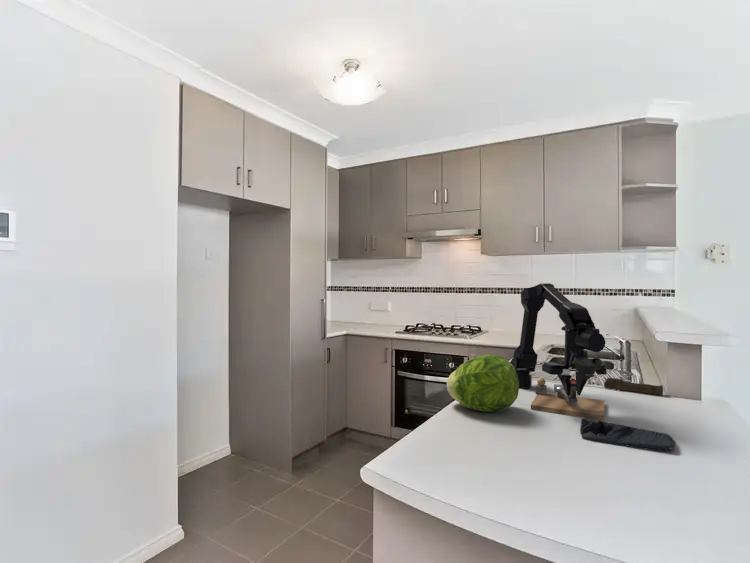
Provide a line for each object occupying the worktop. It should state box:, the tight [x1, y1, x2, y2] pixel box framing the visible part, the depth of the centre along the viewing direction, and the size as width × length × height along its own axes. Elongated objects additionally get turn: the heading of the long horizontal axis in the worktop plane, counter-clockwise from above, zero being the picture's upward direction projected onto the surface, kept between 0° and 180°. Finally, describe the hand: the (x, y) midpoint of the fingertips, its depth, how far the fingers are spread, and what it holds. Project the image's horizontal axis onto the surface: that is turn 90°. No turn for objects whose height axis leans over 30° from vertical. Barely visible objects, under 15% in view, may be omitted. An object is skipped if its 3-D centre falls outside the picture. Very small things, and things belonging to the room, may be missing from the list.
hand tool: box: [603, 377, 664, 397], centre depth 159 cm, size 19×4×5 cm, turn 55°
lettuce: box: [446, 353, 520, 413], centre depth 137 cm, size 19×23×18 cm
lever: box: [553, 377, 577, 402], centre depth 141 cm, size 18×4×8 cm, turn 170°
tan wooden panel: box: [530, 377, 606, 422], centre depth 140 cm, size 22×18×7 cm
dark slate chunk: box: [579, 417, 676, 452], centre depth 114 cm, size 15×22×5 cm
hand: (573, 395), depth 134 cm, fingers open, 3 cm apart
